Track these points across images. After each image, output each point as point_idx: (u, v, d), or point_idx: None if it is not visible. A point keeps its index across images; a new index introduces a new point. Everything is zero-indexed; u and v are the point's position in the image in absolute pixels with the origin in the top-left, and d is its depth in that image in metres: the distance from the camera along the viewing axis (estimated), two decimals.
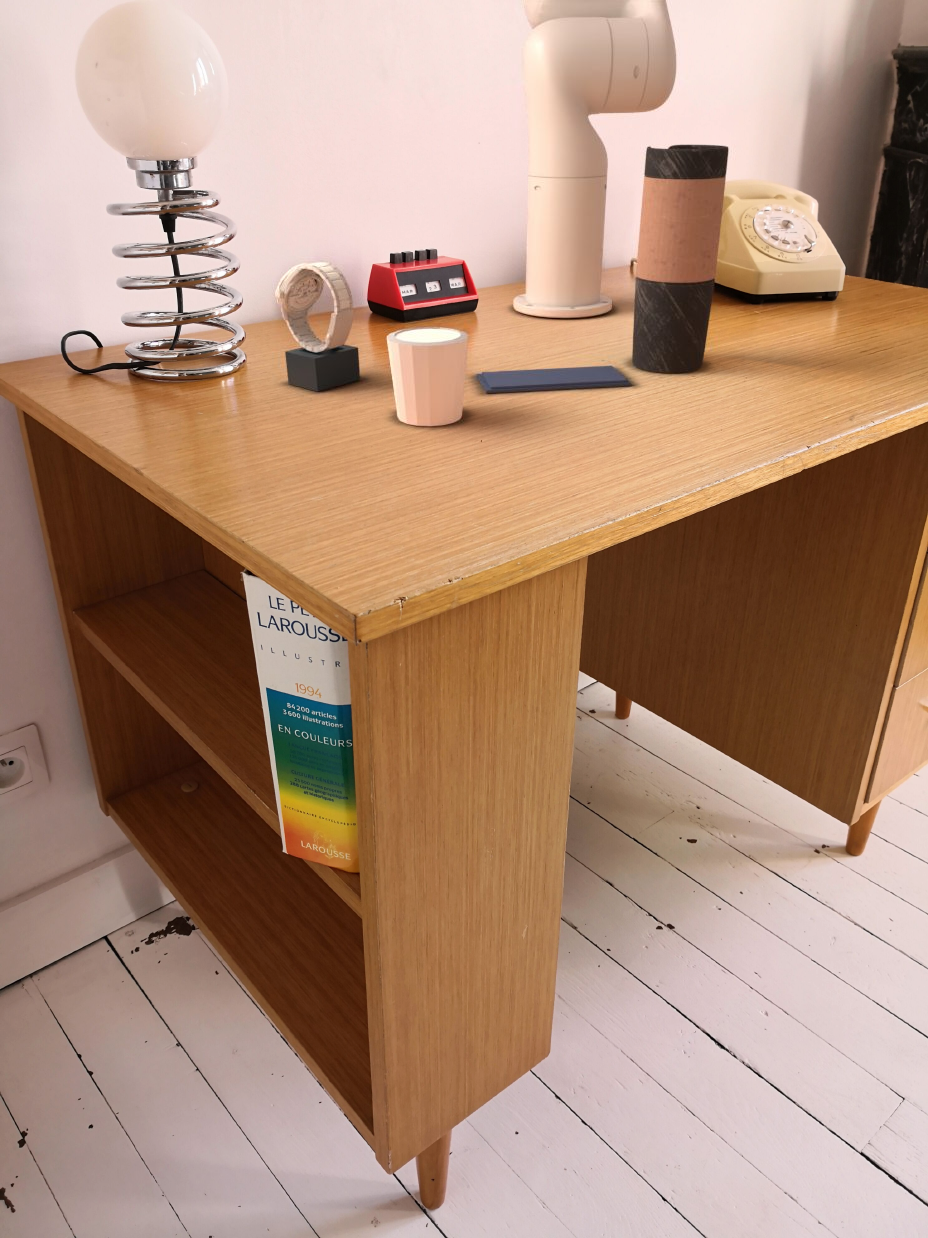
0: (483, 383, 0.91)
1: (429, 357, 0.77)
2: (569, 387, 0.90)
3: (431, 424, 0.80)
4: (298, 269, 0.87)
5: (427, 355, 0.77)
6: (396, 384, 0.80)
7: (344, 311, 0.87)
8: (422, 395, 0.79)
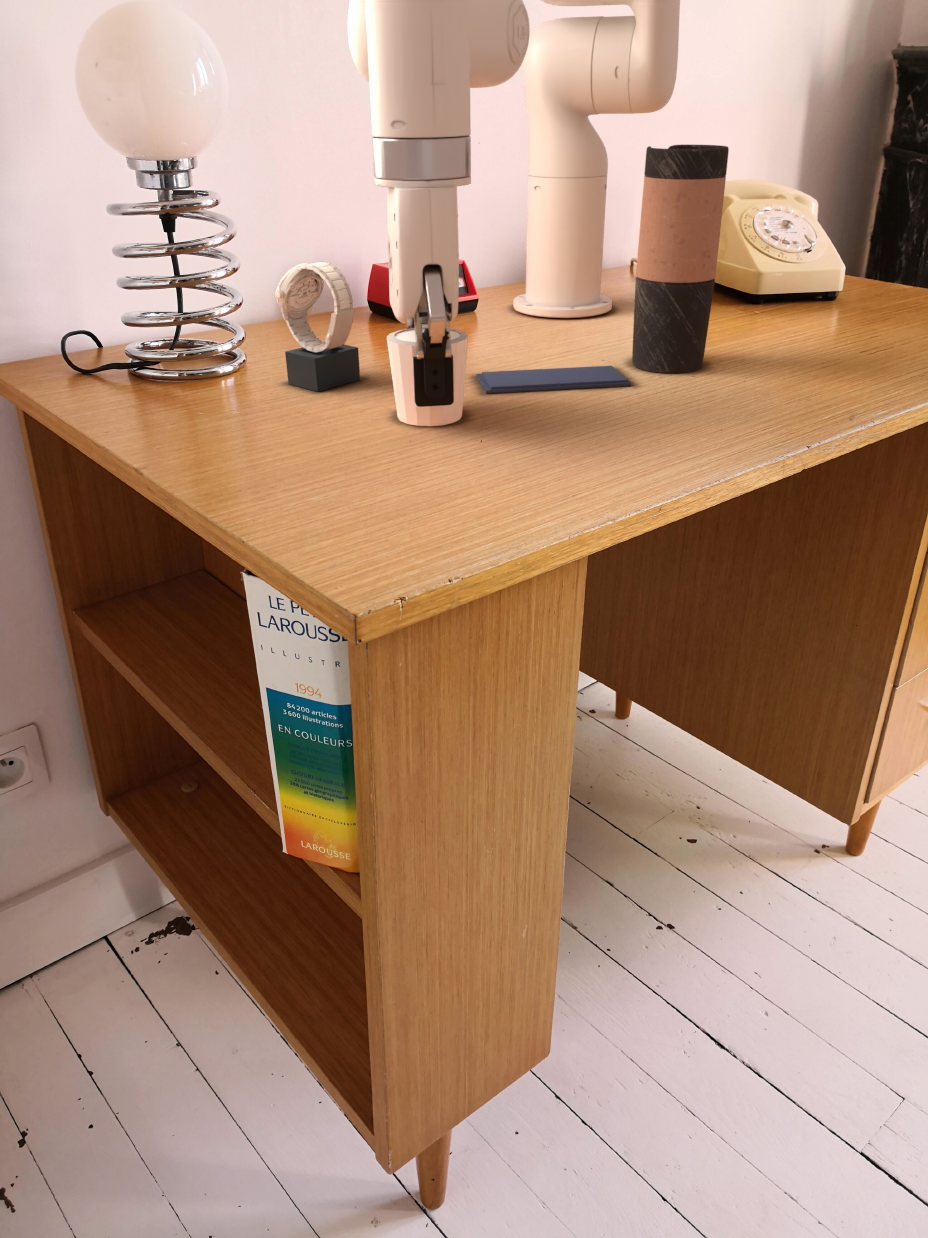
0: (483, 383, 0.91)
1: None
2: (569, 387, 0.90)
3: (431, 424, 0.80)
4: (298, 269, 0.87)
5: None
6: (396, 384, 0.80)
7: (344, 311, 0.87)
8: None
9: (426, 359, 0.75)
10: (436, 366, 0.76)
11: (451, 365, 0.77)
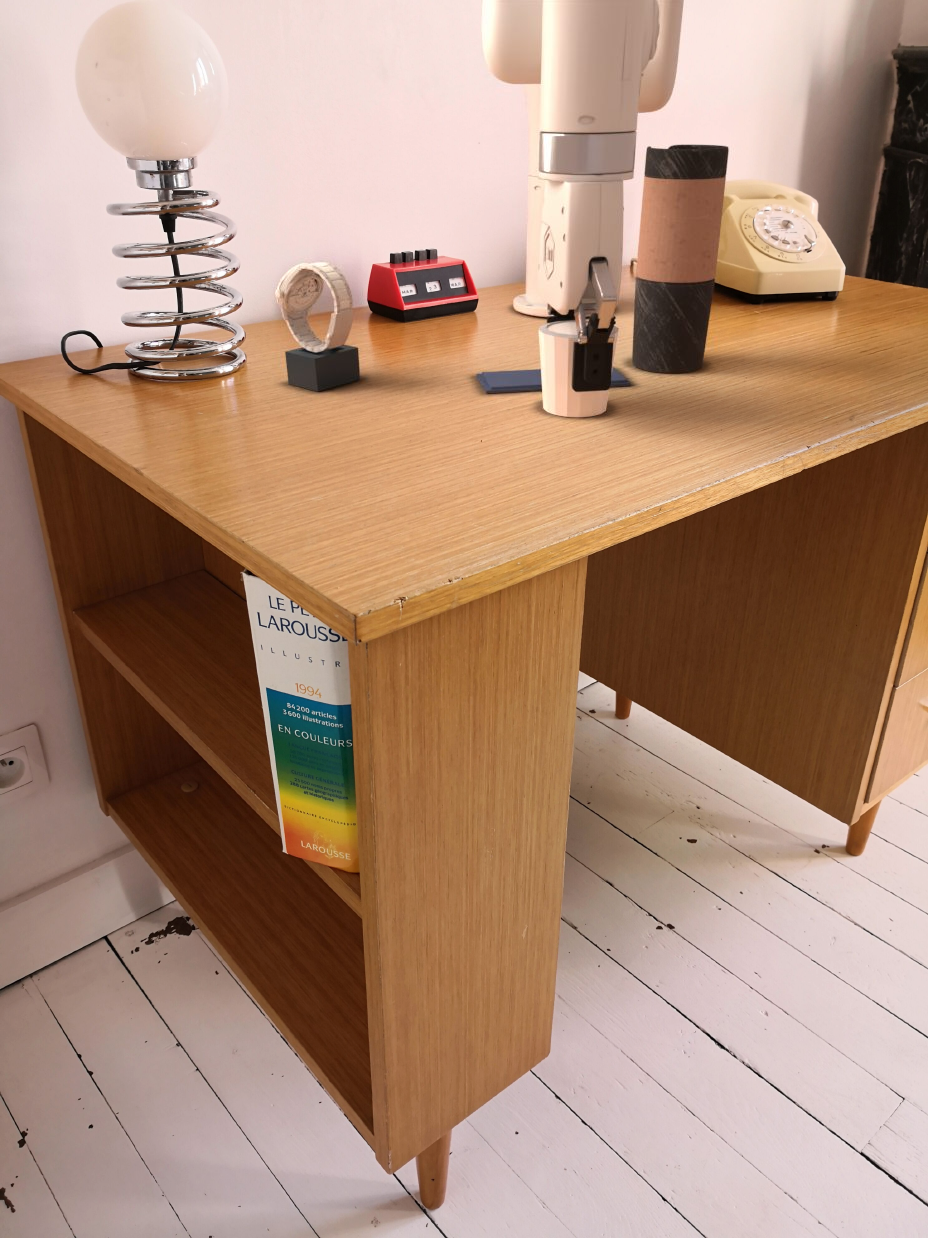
0: (483, 383, 0.91)
1: None
2: None
3: (580, 415, 0.82)
4: (298, 269, 0.87)
5: None
6: (547, 376, 0.82)
7: (344, 311, 0.87)
8: None
9: (589, 344, 0.76)
10: (598, 351, 0.76)
11: (611, 350, 0.77)
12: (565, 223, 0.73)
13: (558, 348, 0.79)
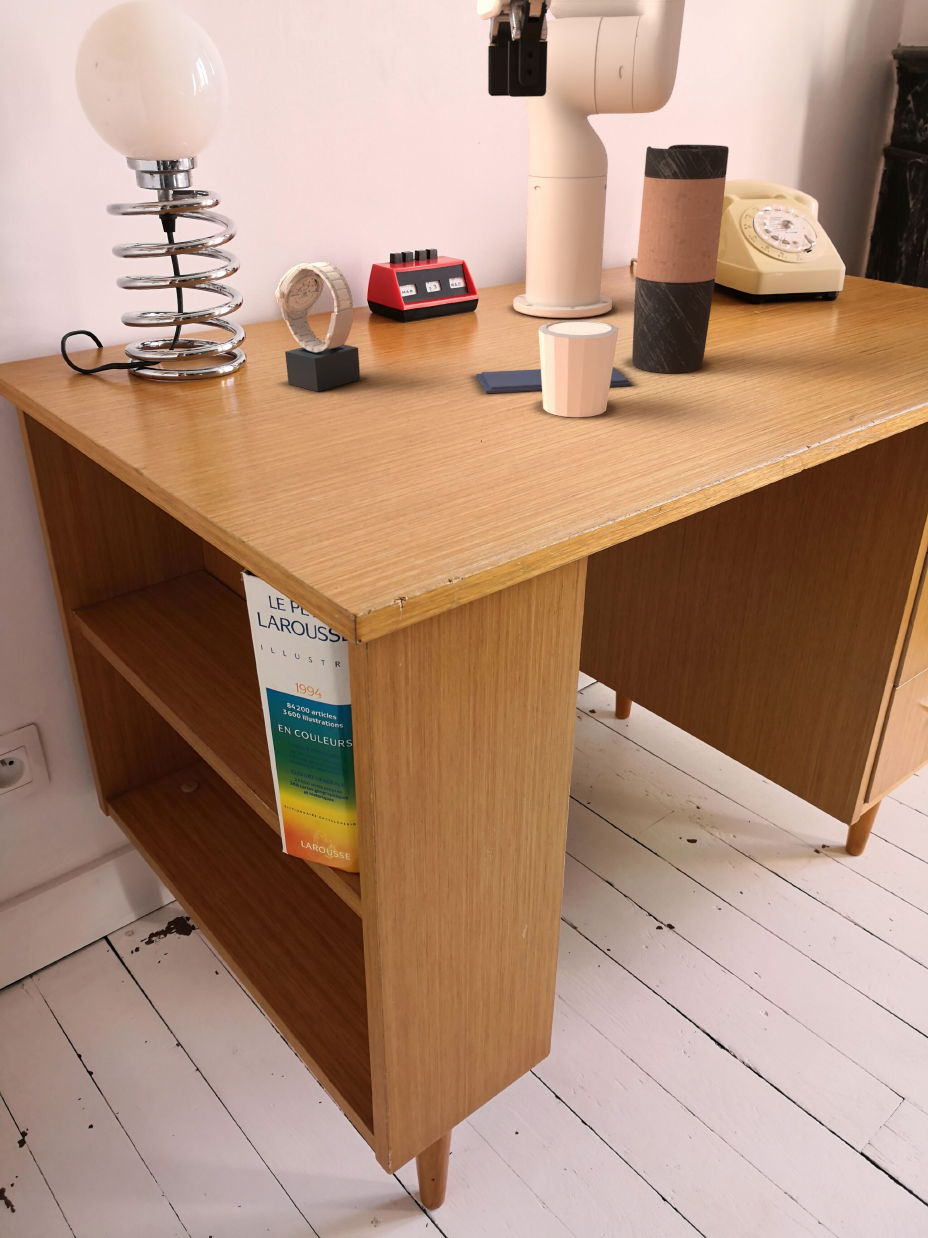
0: (483, 383, 0.91)
1: (585, 349, 0.79)
2: None
3: (580, 415, 0.82)
4: (298, 269, 0.87)
5: (583, 347, 0.79)
6: (547, 376, 0.82)
7: (344, 311, 0.87)
8: (574, 387, 0.81)
9: (522, 40, 0.77)
10: (531, 48, 0.77)
11: (545, 50, 0.78)
12: None
13: (558, 348, 0.79)
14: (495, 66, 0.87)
